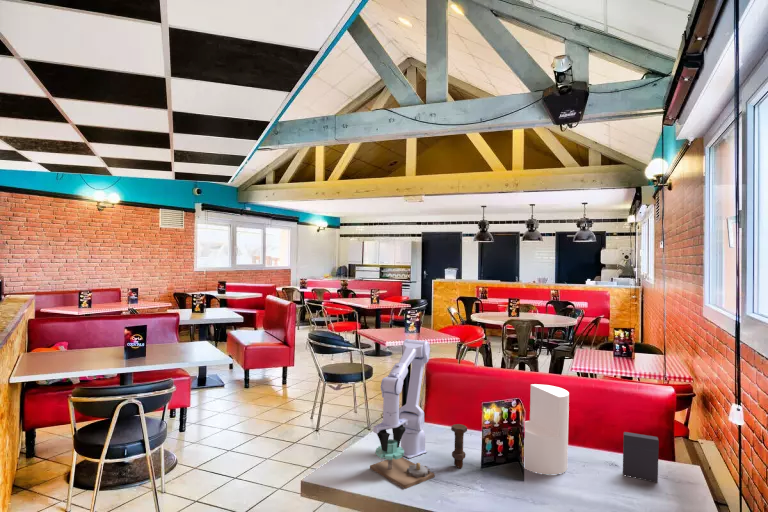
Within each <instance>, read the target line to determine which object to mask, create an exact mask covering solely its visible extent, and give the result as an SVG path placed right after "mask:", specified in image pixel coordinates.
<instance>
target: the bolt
mask: <svg viewBox="0 0 768 512" xmlns="http://www.w3.org/2000/svg"><path fill="white" fill-rule="evenodd" d="M450 430H451V431H452V432H453V433H454V450H453V451H452V452H451V457H452V458H453V459H454V461H453V462H454V463H453V465H454V466H455V468H456V469H462V468H463V466H464V459H465V458H466V455H467V454H466V453H465V451H464V435H465V433H466V432H468V427H467V426H466V425H464V424H460V423H457V424H453V425H451V427H450Z"/></svg>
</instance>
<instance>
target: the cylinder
mask: <svg viewBox="0 0 768 512" xmlns="http://www.w3.org/2000/svg"><path fill="white" fill-rule="evenodd" d="M529 393H530V399H529V400H530V401H529V410H530V411H529V420H525V421H524V422H525V439H524V457H525V468H524V469H525V470H526V469H527V471H528V470H530V471H529V472H531V471H533V472H532V473H534V472H537V473H542V474H559V473H563V472H565V471H566V470H567V471H568V463H569V462H568V460H569V459H568V457H569V456H568V455H569V453H568V452H569V451H568V450H569V418H570V417H569V416H570V415H569V411H570V406H569V405H570V404H569V403H570V392H569V391H568V390H566V389H564V388H562V387H559V386H556V385H555V386H554V385H549V384H537V383H534V384H533V383H532V384H530V392H529ZM567 471H566V472H567ZM566 472H565V473H566ZM537 473H536V474H537ZM542 474H541V475H542ZM563 474H564V473H563Z"/></svg>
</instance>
